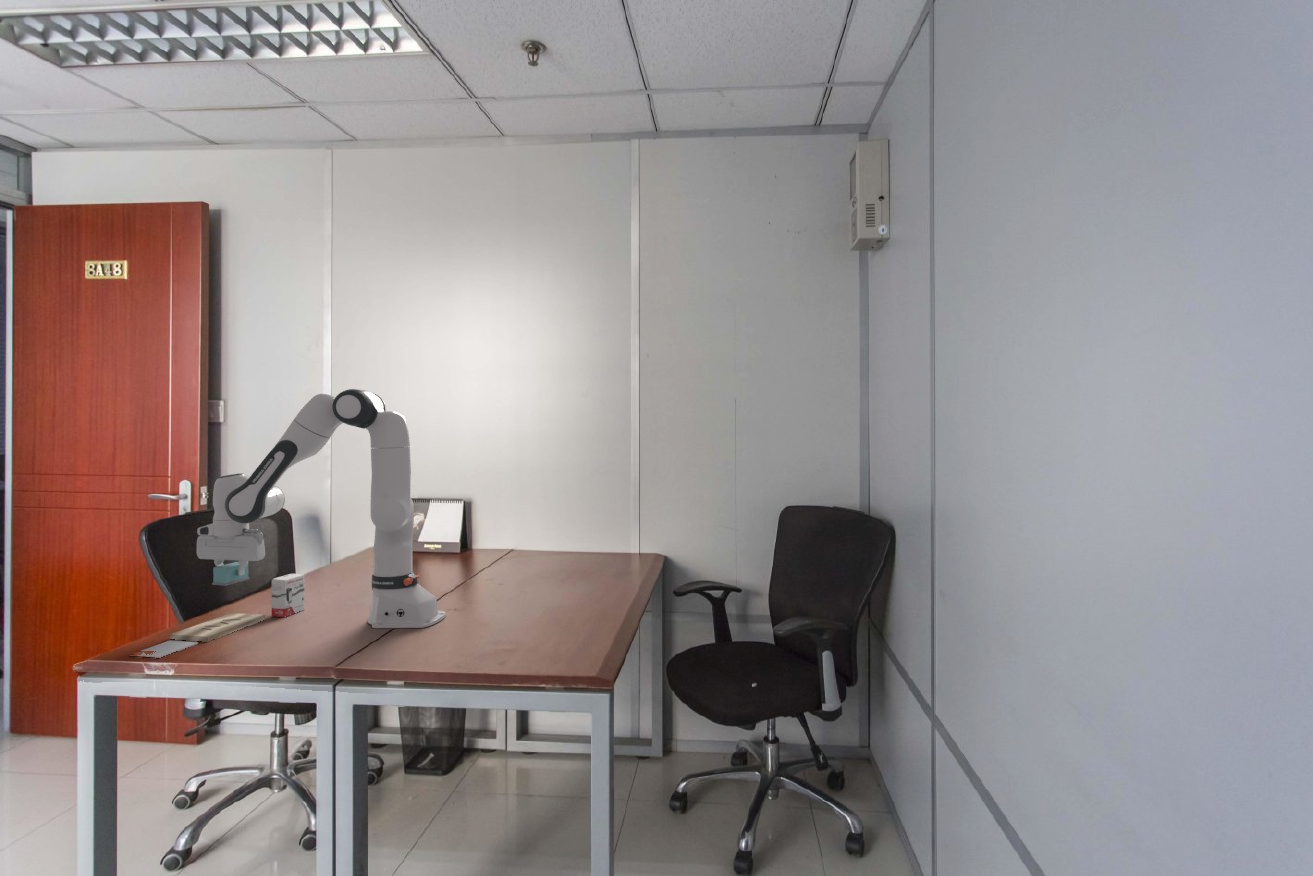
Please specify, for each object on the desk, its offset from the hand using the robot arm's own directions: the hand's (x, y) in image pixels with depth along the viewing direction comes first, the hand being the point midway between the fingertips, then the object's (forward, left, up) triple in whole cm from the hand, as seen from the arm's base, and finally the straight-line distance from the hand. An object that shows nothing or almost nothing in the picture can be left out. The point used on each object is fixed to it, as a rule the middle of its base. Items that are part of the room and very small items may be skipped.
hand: (231, 574), depth 181 cm
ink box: (-8, -13, -15) cm, 22 cm away
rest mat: (0, +21, -15) cm, 26 cm away
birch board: (0, +4, -15) cm, 15 cm away
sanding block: (0, 0, -2) cm, 2 cm away
